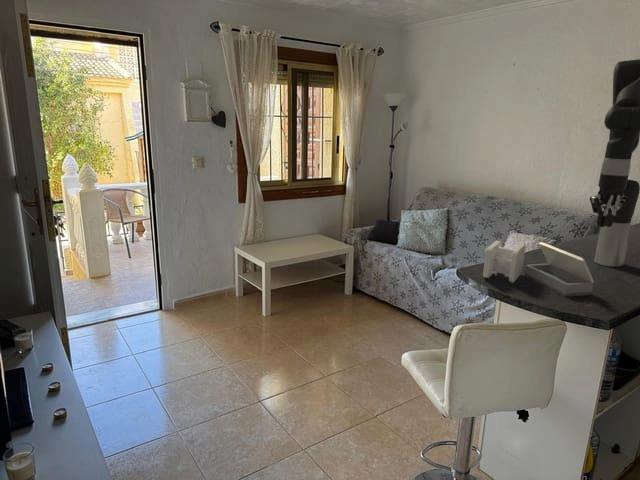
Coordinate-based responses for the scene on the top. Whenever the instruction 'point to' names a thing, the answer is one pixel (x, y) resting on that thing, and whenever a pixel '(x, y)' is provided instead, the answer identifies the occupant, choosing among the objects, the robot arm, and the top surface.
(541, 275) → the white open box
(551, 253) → the duct cover
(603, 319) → the top surface
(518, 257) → the cable organizer
